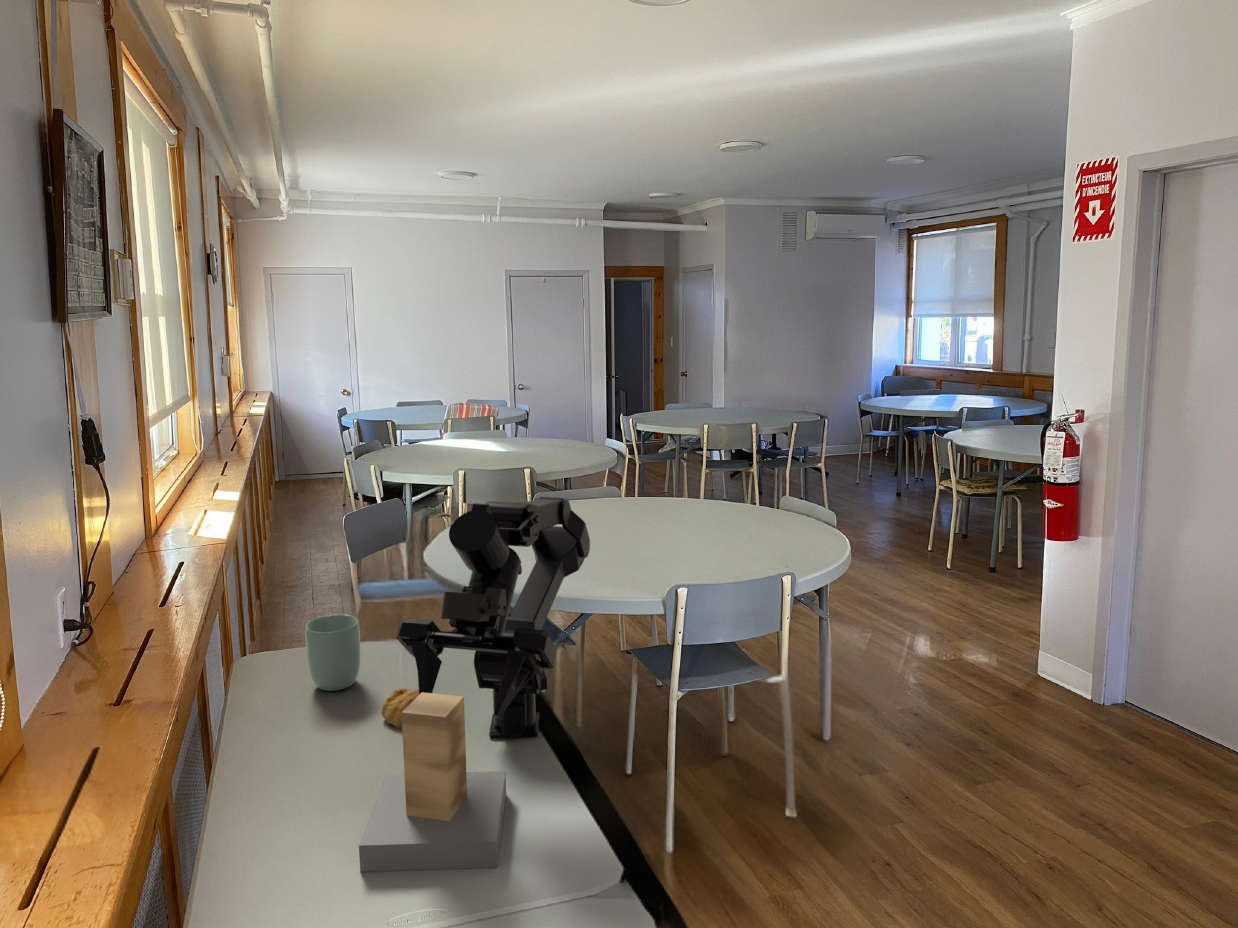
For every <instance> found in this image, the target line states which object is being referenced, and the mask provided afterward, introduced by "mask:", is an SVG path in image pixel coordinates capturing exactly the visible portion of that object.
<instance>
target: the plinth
mask: <svg viewBox="0 0 1238 928" xmlns="http://www.w3.org/2000/svg"><path fill="white" fill-rule="evenodd" d="M466 773H467V797H466V799H465V800H464V802H463V803H462V804H461V806H460V807H459V809H458V810H457V811H456V813H455V814H454V816H453V817H452V818H451V820H450V821H445V820H437V819H430V818H422V817H415V816H407V815H406V796H405V775H404V773H394V774H393V773H391V774H385V776H384V779H383V781H382V784H381V787H380V789H379V792H378V794H377V797H376V799H375V803H374V805H373V807H372V809H371V813H370V816H369V818H368V821H367V823H366V826H365V829H364V830H363V833H362V836H361V839H360V841H359V844H358V852H359V854H358V855H359V869H360V870H359V871H360V873H362V872H363V873H364V872H366V873H367V872H370V873H371V872H394V871H397V872H398V871H424V870H425V871H426V870H427V871H429V870H457V869H459V870H461V869H489V868H490V869H491V868H498V861H499V852H500V845H501V839H502V838H501V836H502V831H501V830H503V823H502V821H503V822H504V815H503V814H505V808H504V806H506V800H505V798H506V799H507V777H506V775H507V773H506V770H503V771H502V770H499V771H498V770H497V771H494V770H493V771H466ZM500 838H501V839H500Z"/></svg>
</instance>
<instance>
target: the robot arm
mask: <svg viewBox="0 0 1238 928" xmlns="http://www.w3.org/2000/svg"><path fill="white" fill-rule="evenodd" d="M557 525H562V526H557ZM448 537H449V541H450V544H451V545H452V547H453V548H454V549H455V551H456V553H457V554H458V556H459V557H460V558H461V561H462V562H463V563H464V565H465V567H467V569H469V571H471V575H470V578H469V582H468V586H463V588H462V590H461V592H458V591H448V590H447V591H444V593H443V599H442V608H441V615H440V619H441V620H449V621H448V624H449V625H450V627H451V628H454V629H455V632H454V631H453V632H452V631H443V630H441V629H440V628H439V627H438V626H437V625H438V624H436V623H435V621H434V620H432V619H431V620H429V619H419V618H417V619H416V618H406V619H405V620H404V621H402V623H400V625H399V627H398V630H397V633H396V636H395V639H396V640H397V641H398V642H399V643H400V645H402V646H403V648H404V649H405V650H406V651H407V652H408V653H409V655H412V657H413V658H414V660H415V664H416V670H417V682H418V690H419V695H420V694H421V693H422V692H423V693H433V692H434V689H435V686H436V682H437V678H438V676H439V672H440V669H441V666H442V662H443V661H442V660H441V658H440V657H439V656H440V655H441V654H442V653H443V652H444V648H446V649H454V650H464V651H465V650H466V651H467V650H468V651H475V653H474V657H473V667H474V671H475V675H476V680H477V681H476V682H477V686H478V689H487V690H489V689H491V690H492V701H493V705H492V706H493V709H492V710H493V713H492V716H491V721H490V727H489V735H488V737H489V738H492V739H495V738H499V739H500V738H530V737H531V738H535V737H538V735H539V722H540V712H538V711H536V695H539V693H540V692H541V691H545V690H548V689H549V677H550V670H551V669H554V668H555V663H556V658H557V648H556V646H555V645H554V642H553V641H552V639H551V637H550V635H549V634H548V632H547V631H546V630H544V629H543V626H544V624H545V622H546V620H547V617H548V616H549V613H550V611H551V609H552V606H553V604H554V601H555V599H556V597H557V595H558V592H559V590H560V588H561V585H562V583H563V581H564V579H565V578H566V577H568V576H571V575H573V574H574V573H576V572H578V571H579V570H580V569H581V566H582V565H583V563H584V562H585V559H586V558H588V557H589V554H590V549H591V539H590V535H589V532H588V527H587V523H586V522H585V521H584V520H583V519H582V518H581V517H580V516H579V515H578V514H576V513H575V512H574V511H573V510H572V507H571V504H570V501H569V499H565V498H563V497H555V496H552V497H551V496H539V497H536V498H535V499H532V500H530V501H529V500H528V501H525V502H512V501H497V500H496V501H494V500H493V501H492V500H487V501H486V502H485V503H476V502H474V503H472V507H471V510H470V511H467V512H465V513H463V514H461V515H460V516H458V518H456V519H455V520H454V522H453V523H452V524H451V525H450V527H449V532H448ZM511 547H522V548H523V547H524V548H530V547H532V550H533V553H534V558H535V559H534V560H535V563H534V566H533V567H532V569H531V572H529V576H528V578H527V580H526V582H525V584H524V585H523V588H522V590H521V591H520V594H519V596H518V598H517V600H516V602H515V604H514V606H513V607H512V601H513V598H514V593H515V588H516V586H517V581H518V578H519V576H520V575H522V573H523V569H522V568H523V567H522V560H521V558H520V557H519V555H518V553H517V552H516V551H515V550H514V549H513V548H511Z"/></svg>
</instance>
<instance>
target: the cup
mask: <svg viewBox="0 0 1238 928" xmlns="http://www.w3.org/2000/svg"><path fill="white" fill-rule="evenodd" d="M360 631H361V630H360V622H359V620H358V618H357V617H356V616H353V615H350V614H344V613H343V614H330V615H329V614H328V615H323V616H319V617H315V618H313V619H310V620H308V622H307V623H306V624H305V629H304V636H305V649H306V659H307V666H308V671H309V674H310V679H311V681H312V682H313V684H314V686H315V687H317V688H318V689H320V690H322V691H326V692H334V691H342V690H345V689H348V688H349V687H351V686H352V685H353V684H354V683H356V681H357V679H358V678H359V674H360V668H361V636H360V635H361V633H360Z"/></svg>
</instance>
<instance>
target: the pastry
mask: <svg viewBox="0 0 1238 928" xmlns="http://www.w3.org/2000/svg"><path fill="white" fill-rule="evenodd" d="M418 696H419V689H414V690H409V689H407V688H398V689H395V690H394V691H393V692H391V694H390V695H388V697H386V699H385V701H384V703H383V706H382V708H381V716H382V718H383V719H384V720H385V721H386V723H388V725H393V726H394V727H395V728H398V729H402V711H403V710H404V709H405V708H406V707H407V706H408V705H409V704H410V703H411V702H412V701H413V700H414V699H416V698H417V697H418Z"/></svg>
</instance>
